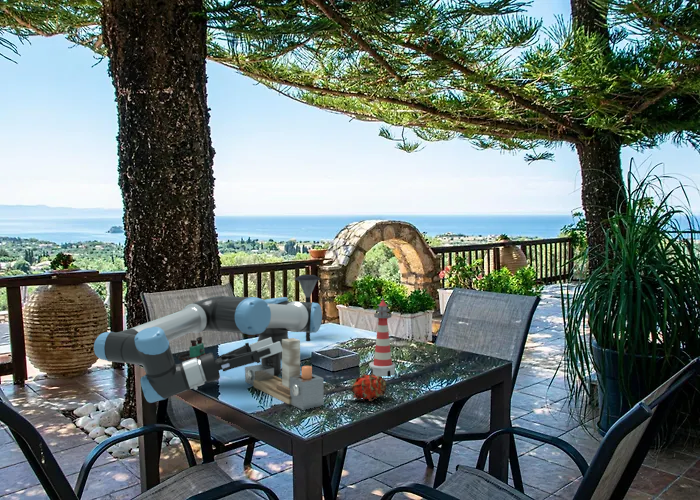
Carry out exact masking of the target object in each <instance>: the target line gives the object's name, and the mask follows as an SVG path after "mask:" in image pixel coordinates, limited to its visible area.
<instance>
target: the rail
mask: <svg viewBox="0 0 700 500" xmlns="http://www.w3.org/2000/svg"><path fill="white" fill-rule="evenodd" d="M280 383H282V377H279V376H273V379H269V380H263V381H258V380H254V386H253V388H255V389H256V390H259V391H261V392H263V393H265V394H267V395H270V396H271V397H273V398H275V399H277V400H279V401H281V402H284V403H285V404H287V405H291V404H290V395H288V394H286V393H284V392H281V391H279V390H277V389H276V384H280Z"/></svg>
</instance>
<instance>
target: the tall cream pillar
mask: <svg viewBox="0 0 700 500" xmlns="http://www.w3.org/2000/svg"><path fill="white" fill-rule="evenodd" d="M282 349H283V351H282V358H281V379H282V383H280V384H276V389H277V390H279V391H281V392H284V393H286V394H288V395H290V377H292V376H298V375H301V340H300V339H299V338H294V337H292V338H289V339H283V340H282Z"/></svg>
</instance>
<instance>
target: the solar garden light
mask: <svg viewBox="0 0 700 500" xmlns="http://www.w3.org/2000/svg"><path fill="white" fill-rule="evenodd" d="M294 280H295V281H298V282H299V285H300V287H301V289H302V291H303V294H304V296H305V302H309V303H311V297H312V293H313V291H314V289H315V286H317V285H316V284H317V282H318V281H320V280H321V277H318V276H317V275H315V274H301V275H299V276H297V277H295V278H294ZM305 341H307V342H309V341H311V333H310V332H305Z"/></svg>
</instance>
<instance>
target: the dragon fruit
mask: <svg viewBox="0 0 700 500" xmlns="http://www.w3.org/2000/svg"><path fill="white" fill-rule="evenodd" d="M371 374H372V375H371ZM387 385H388V384H387V380H386V379H383V378H382V377H381V376H375V375H374V374H373V373H371V372H370V374H368V375H367V374H365V373H364V374H362V375H361V376H359V377H357V378H356V379H355V382H354V383H353V384H352V386H351V387H350V388H349V390H348V391H349V393H351V392H352V393H353V398H354V399H356V398H357V399H356V400H360V399H361V398H363V399H366V400H368V401H371V402H373V401H374V399H376V398H378V399H379V397H381V396H385V395H386V391H387ZM372 398H373V399H372Z"/></svg>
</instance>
